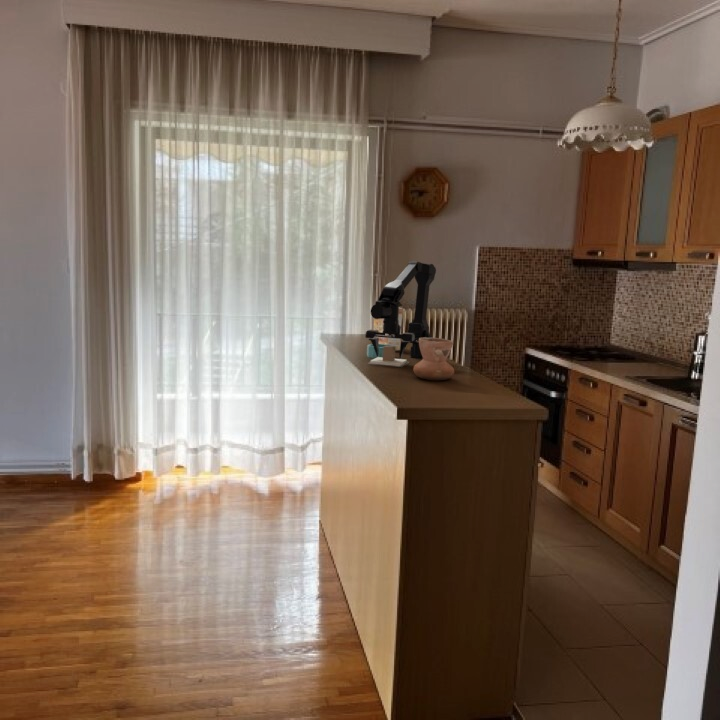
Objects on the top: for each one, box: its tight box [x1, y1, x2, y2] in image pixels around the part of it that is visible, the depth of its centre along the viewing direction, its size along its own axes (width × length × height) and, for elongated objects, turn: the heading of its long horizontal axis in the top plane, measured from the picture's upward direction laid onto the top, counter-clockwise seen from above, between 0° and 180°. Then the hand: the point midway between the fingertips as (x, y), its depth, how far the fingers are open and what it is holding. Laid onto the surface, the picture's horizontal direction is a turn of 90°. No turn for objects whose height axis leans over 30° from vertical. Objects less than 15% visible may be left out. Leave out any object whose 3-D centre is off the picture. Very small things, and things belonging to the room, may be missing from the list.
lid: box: [369, 346, 408, 367], centre depth 279 cm, size 12×12×6 cm
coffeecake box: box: [373, 306, 403, 351], centre depth 323 cm, size 15×7×20 cm, turn 25°
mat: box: [366, 361, 410, 368], centre depth 280 cm, size 14×14×1 cm
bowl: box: [366, 343, 392, 359], centre depth 295 cm, size 11×11×5 cm
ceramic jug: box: [413, 336, 455, 382], centre depth 251 cm, size 18×14×14 cm
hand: (388, 357), depth 279 cm, fingers open, 9 cm apart
